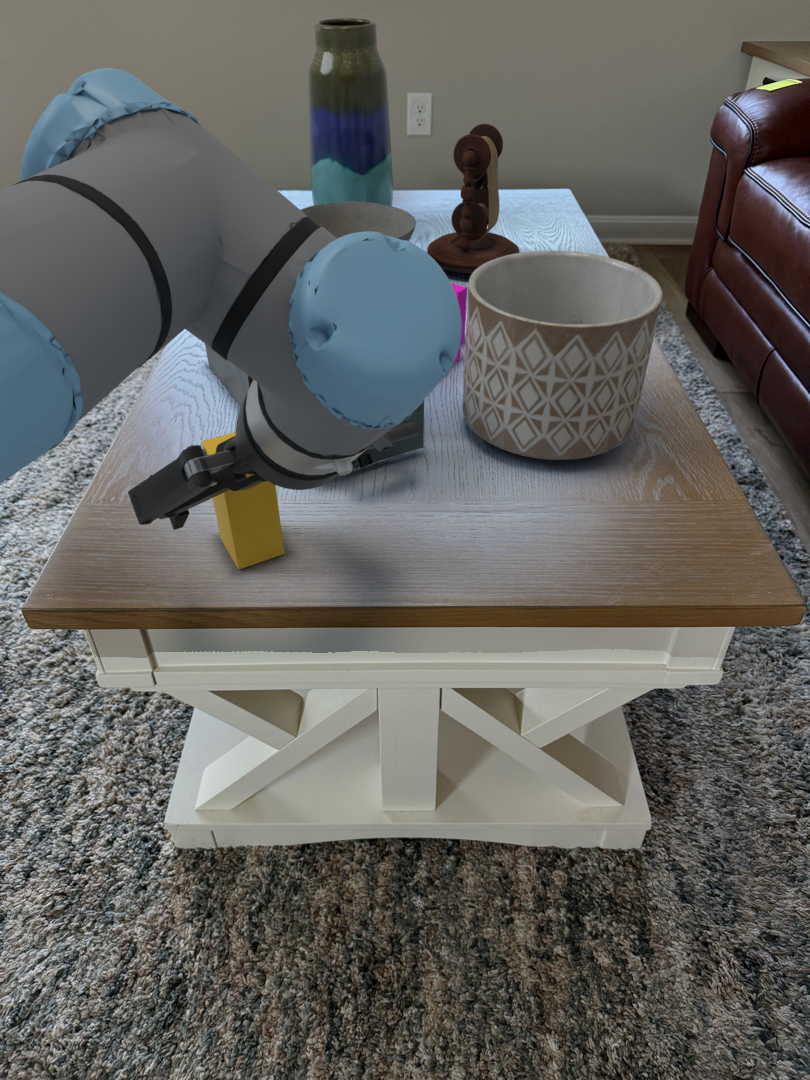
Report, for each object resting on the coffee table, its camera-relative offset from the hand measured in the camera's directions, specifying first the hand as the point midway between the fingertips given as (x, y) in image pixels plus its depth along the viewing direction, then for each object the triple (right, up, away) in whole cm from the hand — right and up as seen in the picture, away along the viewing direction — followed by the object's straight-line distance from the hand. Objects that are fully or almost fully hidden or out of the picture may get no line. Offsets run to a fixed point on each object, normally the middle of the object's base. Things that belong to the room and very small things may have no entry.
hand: (251, 489), depth 66 cm
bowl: (+5, +34, +54) cm, 64 cm away
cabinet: (-2, +16, +32) cm, 35 cm away
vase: (+4, +50, +73) cm, 88 cm away
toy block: (+16, +19, +36) cm, 43 cm away
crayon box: (-1, -5, +7) cm, 9 cm away
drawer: (+6, +7, +20) cm, 22 cm away
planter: (+29, +9, +24) cm, 39 cm away
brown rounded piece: (+24, +40, +61) cm, 77 cm away
